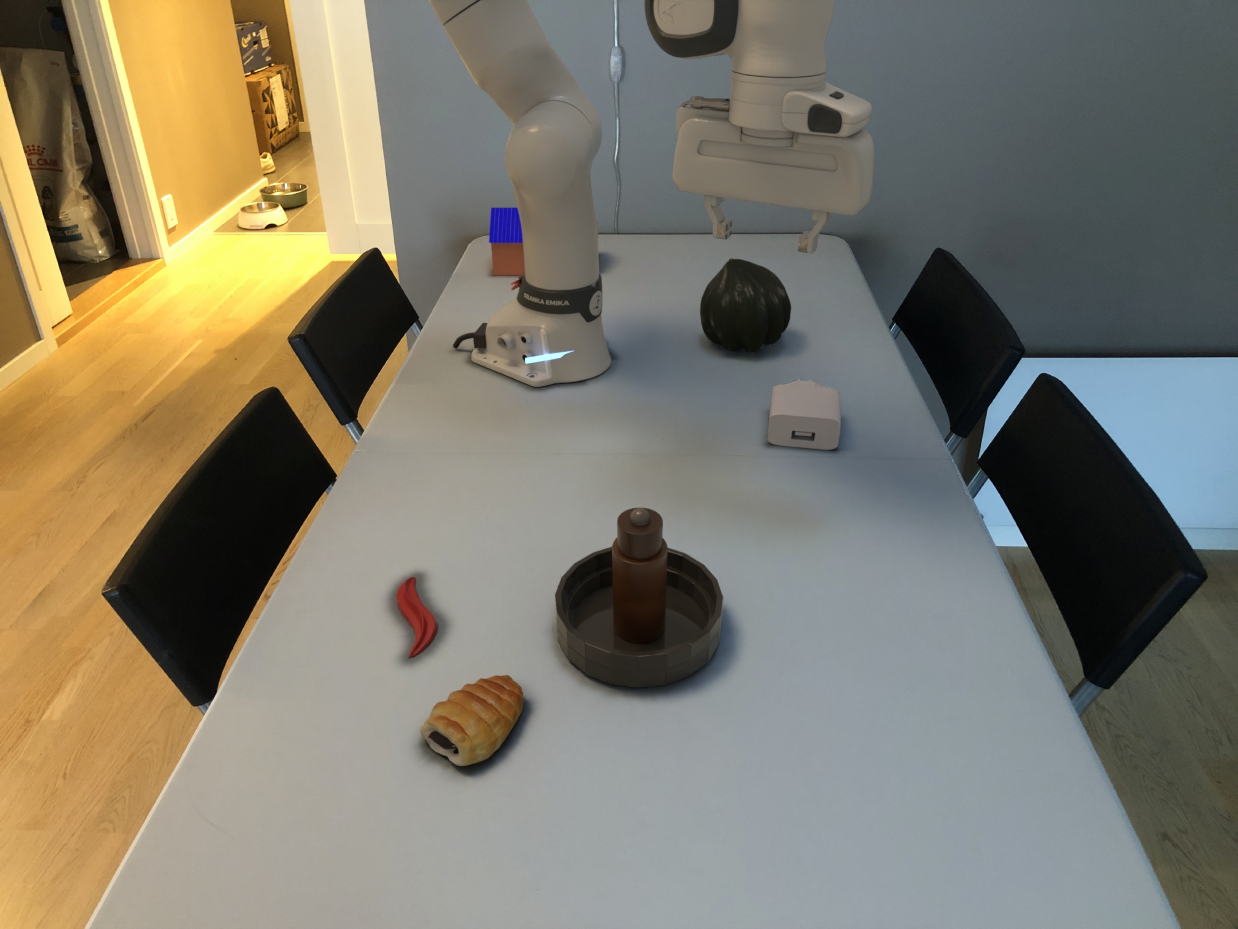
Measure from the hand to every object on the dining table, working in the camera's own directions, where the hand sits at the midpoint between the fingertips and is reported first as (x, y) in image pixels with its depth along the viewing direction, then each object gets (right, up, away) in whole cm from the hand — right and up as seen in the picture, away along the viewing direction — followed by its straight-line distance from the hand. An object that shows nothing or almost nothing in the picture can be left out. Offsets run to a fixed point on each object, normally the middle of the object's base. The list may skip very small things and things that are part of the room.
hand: (763, 244), depth 90 cm
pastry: (-28, -47, -14) cm, 56 cm away
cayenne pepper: (-36, -39, -2) cm, 53 cm away
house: (-30, +17, +85) cm, 91 cm away
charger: (+11, -17, +31) cm, 37 cm away
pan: (-13, -40, -4) cm, 42 cm away
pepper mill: (-13, -39, -4) cm, 41 cm away
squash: (+5, -3, +53) cm, 53 cm away
